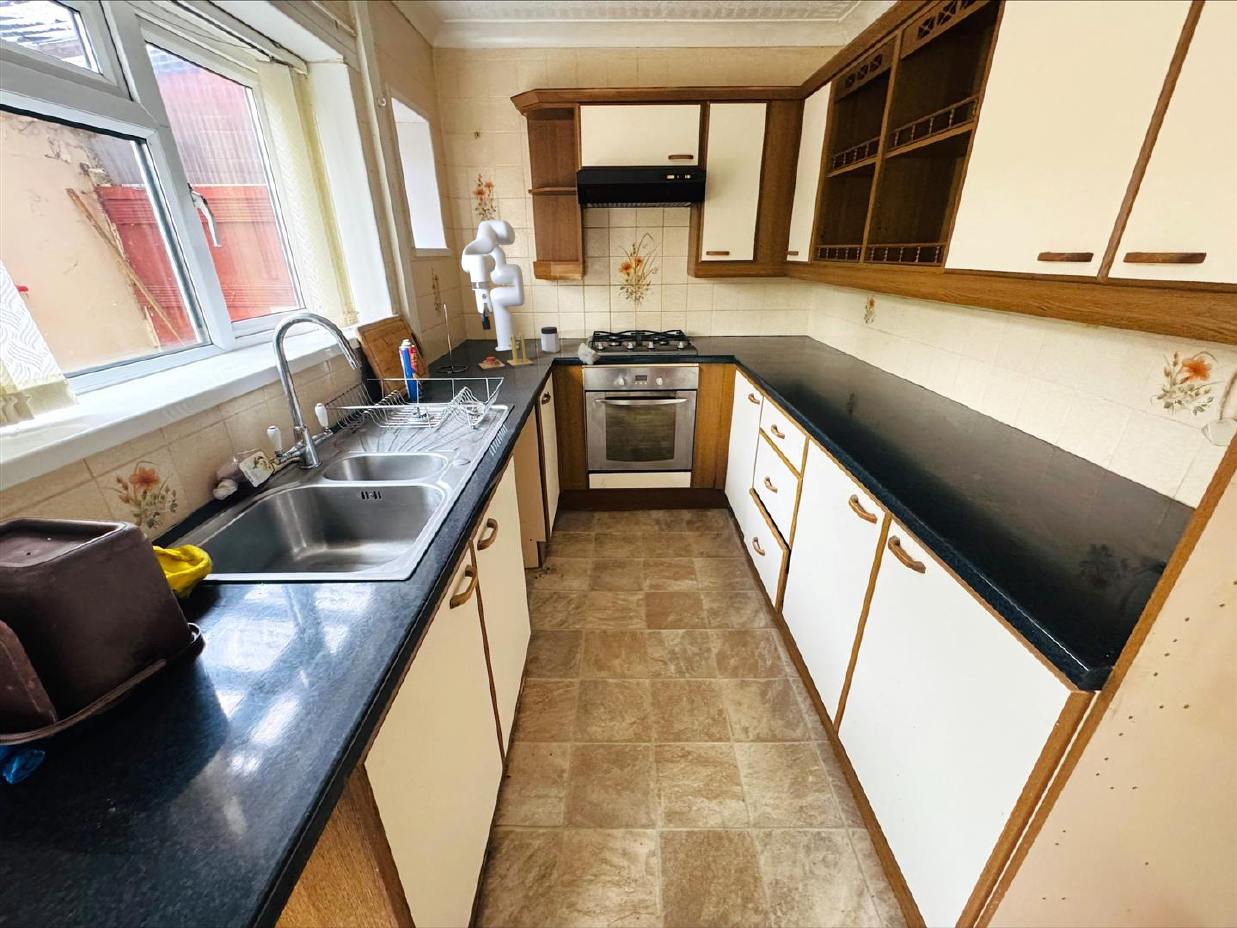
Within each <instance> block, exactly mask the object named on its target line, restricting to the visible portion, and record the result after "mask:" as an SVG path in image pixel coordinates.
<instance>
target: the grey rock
mask: <svg viewBox="0 0 1237 928" xmlns="http://www.w3.org/2000/svg"><path fill="white" fill-rule="evenodd" d="M577 356H578V359H579V360H580V361H581V362H582V363H583V364H584V365H586V364H587V365H589V366H593V365H594V363H596V362H597V361H598V360H599V359H600V357H601V356H600V355H599V353H598V352H597V351H595V350H594V349H593V348H591V347H590V346H589V345H587V344H586V343H584V342H581V344H580V345H579V347H578V349H577Z"/></svg>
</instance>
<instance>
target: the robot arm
mask: <svg viewBox="0 0 1237 928" xmlns="http://www.w3.org/2000/svg"><path fill="white" fill-rule="evenodd" d="M515 240H516V233H515V229H514V227H513V226H512V225H511V224H510V223H509V221H507V220H504V219H491V220H490V219H489V220H483V221H481V222H480V223H479V224H478V229H477V233H476V238H475V239H474V240H472V241H471V242H470V243H468V244H467V245H466V246H465V247H464V249H463V251H462V254H461V255H462V256H461V268H462V269H463V271H464V272H465V273H466V274H470V281H471V288H472V291H474V292H475V302H476V308H477V312H478V313H479V314H480V316H481V326H482V330H484V331H489V330H492V328H491V320H490V314H493V317H494V324H495V333H496V339H497V340H496V341H497V346H496V347H495V351H496V352H502V351H512V346H508V343H511V339H510V338H511V336H510V334H513V335H516V331H515V322H514V315H513V313H512V312H511V310H510V309H509V308H508V307H521V306H523V305H524V304H525V301H526V299H525V288H524V287H525V286H524V276H523V270H522V267H521V266H520V265H519V264H517V263H507V257H506V256H507V255H506V253H505V251H504V249H503V248H502V247H501V246H510V245H514V243H515V242H516V241H515ZM489 273H490V274H489ZM489 275H490V276H489ZM490 280H491V282H492V283H493V284H494V285H513V286H501V287H500V286H498V287H494V288H492V289H491V283H490ZM516 350H520V345H516Z"/></svg>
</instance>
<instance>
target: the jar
mask: <svg viewBox="0 0 1237 928" xmlns="http://www.w3.org/2000/svg"><path fill="white" fill-rule="evenodd" d="M540 332H541V333H540V343H541V350H542V351H545V352H550V353H552V354H554V353H555V354H556V353H558V352H560V336H559V332H558V327H557V326H544V327H541V328H540Z"/></svg>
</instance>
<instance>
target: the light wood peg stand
mask: <svg viewBox="0 0 1237 928" xmlns="http://www.w3.org/2000/svg"><path fill="white" fill-rule="evenodd" d="M515 335H516V334H515ZM515 335H513V334H510V336H511V338H510V339H511V344H512V350H511V351H512V359H509V360H506V362H507V363H508V364H510V365H511V366H513V367H514V366H521V365H528V364H535V363H534V361H532V360H531V359H529V358H528V357H527V354H526V346H525V345H526V343H525V336H524V333H521V332H519V333H518V335H520V339H521V340H520V341H519V349H520V355H521V358H518V353H517V350H518V349H516V341H515Z"/></svg>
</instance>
